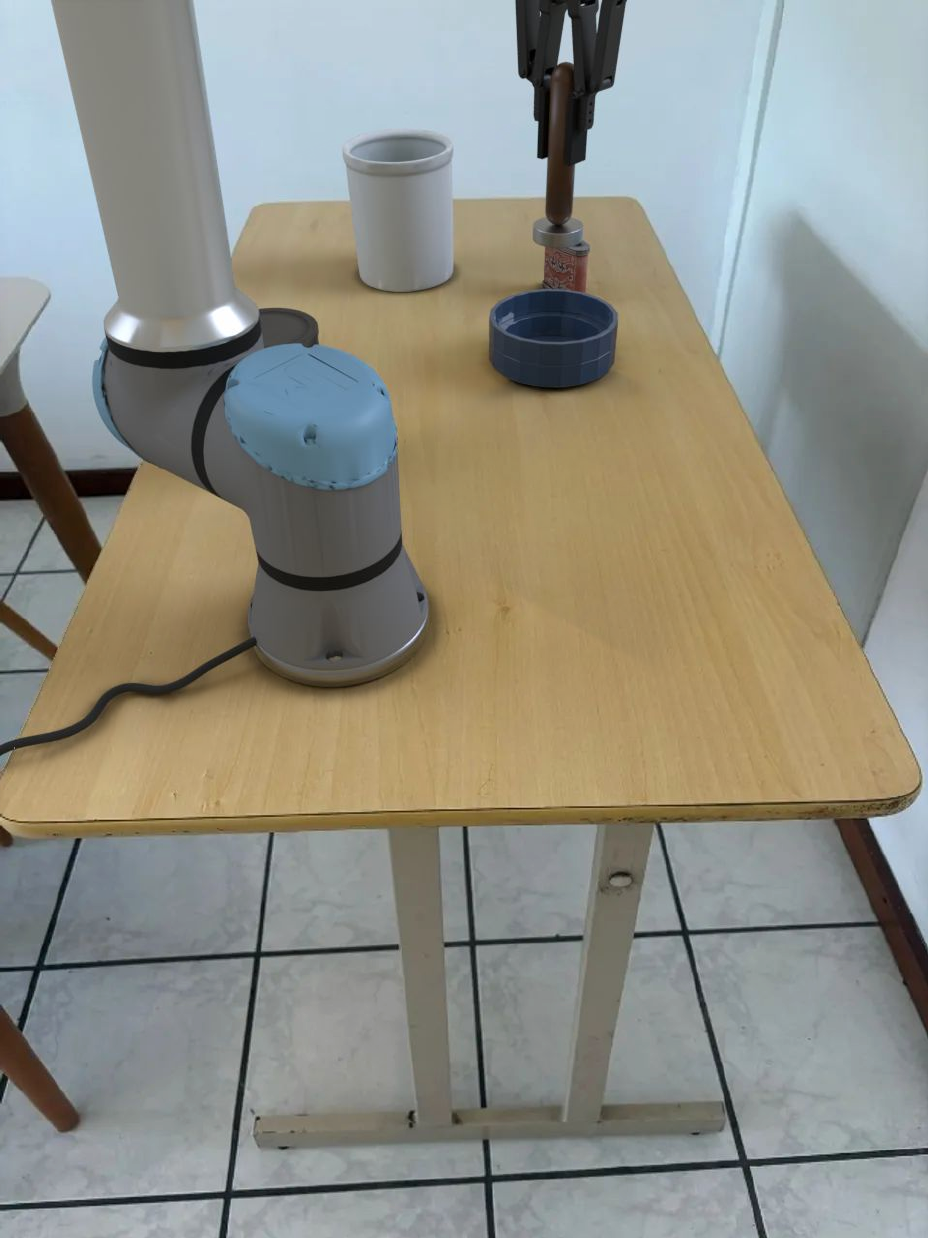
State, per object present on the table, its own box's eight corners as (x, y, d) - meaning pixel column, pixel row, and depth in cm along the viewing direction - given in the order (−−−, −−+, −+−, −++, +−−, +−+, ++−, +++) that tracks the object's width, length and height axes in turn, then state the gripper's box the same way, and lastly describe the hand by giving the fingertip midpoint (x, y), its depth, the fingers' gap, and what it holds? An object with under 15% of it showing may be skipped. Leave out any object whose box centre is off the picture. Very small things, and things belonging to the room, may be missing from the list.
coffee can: (263, 422, 108) (242, 301, 99) (348, 435, 106) (334, 313, 96) (219, 470, 101) (192, 345, 91) (309, 485, 98) (290, 358, 89)
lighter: (592, 300, 131) (597, 226, 124) (572, 307, 130) (577, 232, 123) (555, 281, 136) (558, 209, 129) (536, 287, 135) (539, 214, 128)
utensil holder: (382, 303, 131) (372, 168, 120) (337, 267, 141) (324, 138, 129) (474, 280, 137) (474, 148, 125) (425, 246, 146) (420, 121, 135)
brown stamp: (562, 252, 105) (571, 71, 93) (522, 240, 108) (527, 63, 96) (592, 237, 108) (605, 60, 96) (553, 226, 111) (561, 53, 99)
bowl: (562, 405, 110) (565, 356, 106) (464, 365, 118) (463, 318, 114) (637, 358, 118) (643, 311, 114) (541, 323, 126) (542, 278, 122)
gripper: (673, -118, 85) (644, 164, 100) (531, -125, 93) (524, 137, 108) (624, -110, 80) (602, 183, 96) (480, -119, 89) (481, 152, 104)
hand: (561, 158), depth 102 cm, fingers closed on brown stamp, 3 cm apart
